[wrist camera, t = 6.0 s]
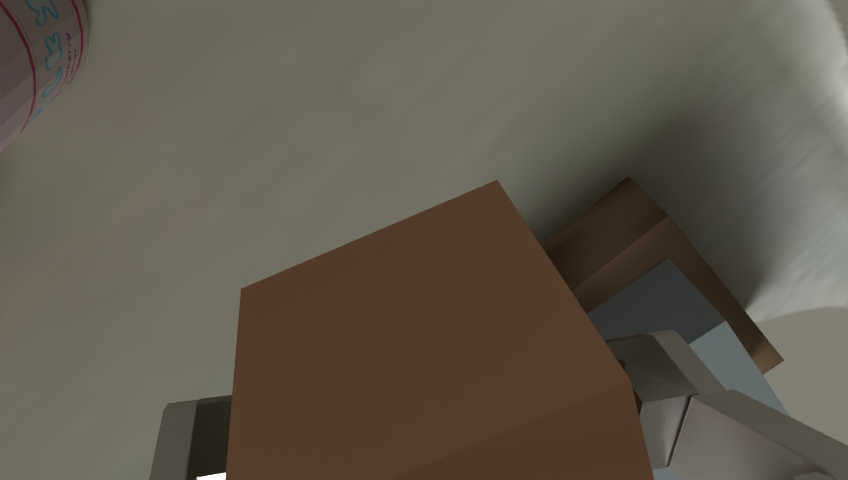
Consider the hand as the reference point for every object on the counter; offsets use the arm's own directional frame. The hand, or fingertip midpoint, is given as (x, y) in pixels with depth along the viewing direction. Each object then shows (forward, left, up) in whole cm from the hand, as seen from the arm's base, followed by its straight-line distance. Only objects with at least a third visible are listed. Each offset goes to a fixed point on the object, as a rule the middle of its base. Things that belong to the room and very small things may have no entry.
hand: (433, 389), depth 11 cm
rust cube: (0, 0, -2) cm, 2 cm away
